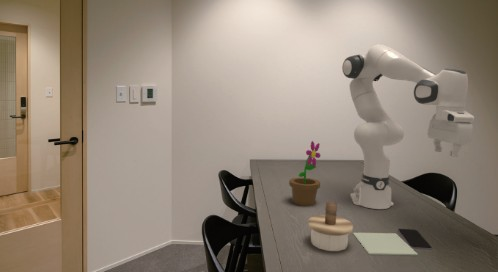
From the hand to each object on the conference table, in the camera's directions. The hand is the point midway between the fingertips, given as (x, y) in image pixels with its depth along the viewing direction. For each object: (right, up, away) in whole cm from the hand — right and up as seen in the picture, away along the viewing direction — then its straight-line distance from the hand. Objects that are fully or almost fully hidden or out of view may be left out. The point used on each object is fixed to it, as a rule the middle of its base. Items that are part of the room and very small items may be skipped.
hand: (445, 153), depth 120 cm
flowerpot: (-45, -25, +39) cm, 64 cm away
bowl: (-43, -31, -4) cm, 53 cm away
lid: (-42, -25, -5) cm, 49 cm away
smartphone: (-11, -32, +1) cm, 33 cm away
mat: (-24, -31, -3) cm, 39 cm away
